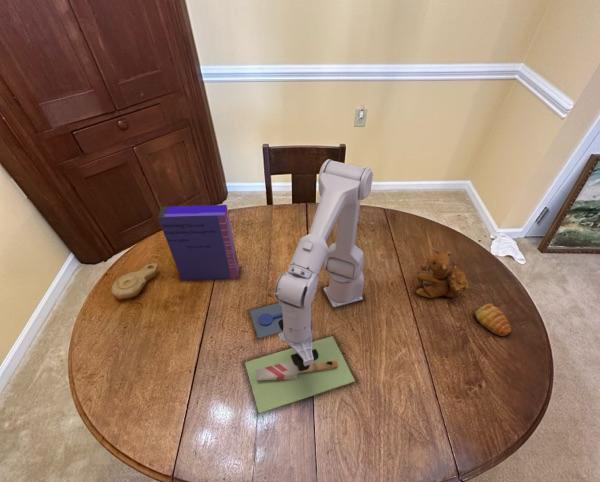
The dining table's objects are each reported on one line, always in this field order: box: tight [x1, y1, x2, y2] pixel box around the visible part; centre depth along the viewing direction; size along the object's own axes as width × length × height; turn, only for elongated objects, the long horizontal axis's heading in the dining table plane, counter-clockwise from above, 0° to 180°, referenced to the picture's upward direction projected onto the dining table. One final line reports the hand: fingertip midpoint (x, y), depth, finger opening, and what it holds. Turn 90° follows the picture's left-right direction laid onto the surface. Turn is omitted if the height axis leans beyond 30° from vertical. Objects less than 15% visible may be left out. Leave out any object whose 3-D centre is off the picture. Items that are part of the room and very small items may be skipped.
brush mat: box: [244, 335, 356, 415], centre depth 86 cm, size 24×14×1 cm, turn 109°
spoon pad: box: [249, 302, 283, 339], centre depth 98 cm, size 14×10×1 cm
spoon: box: [258, 313, 283, 326], centre depth 98 cm, size 14×4×1 cm, turn 109°
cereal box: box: [157, 204, 240, 281], centre depth 102 cm, size 17×5×24 cm, turn 92°
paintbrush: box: [256, 360, 338, 380], centre depth 85 cm, size 4×3×20 cm
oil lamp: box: [111, 263, 159, 300], centre depth 105 cm, size 11×14×5 cm
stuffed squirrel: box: [415, 251, 470, 299], centre depth 100 cm, size 10×14×13 cm
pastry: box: [474, 303, 512, 337], centre depth 94 cm, size 9×7×4 cm
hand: (298, 355), depth 81 cm, fingers open, 7 cm apart
